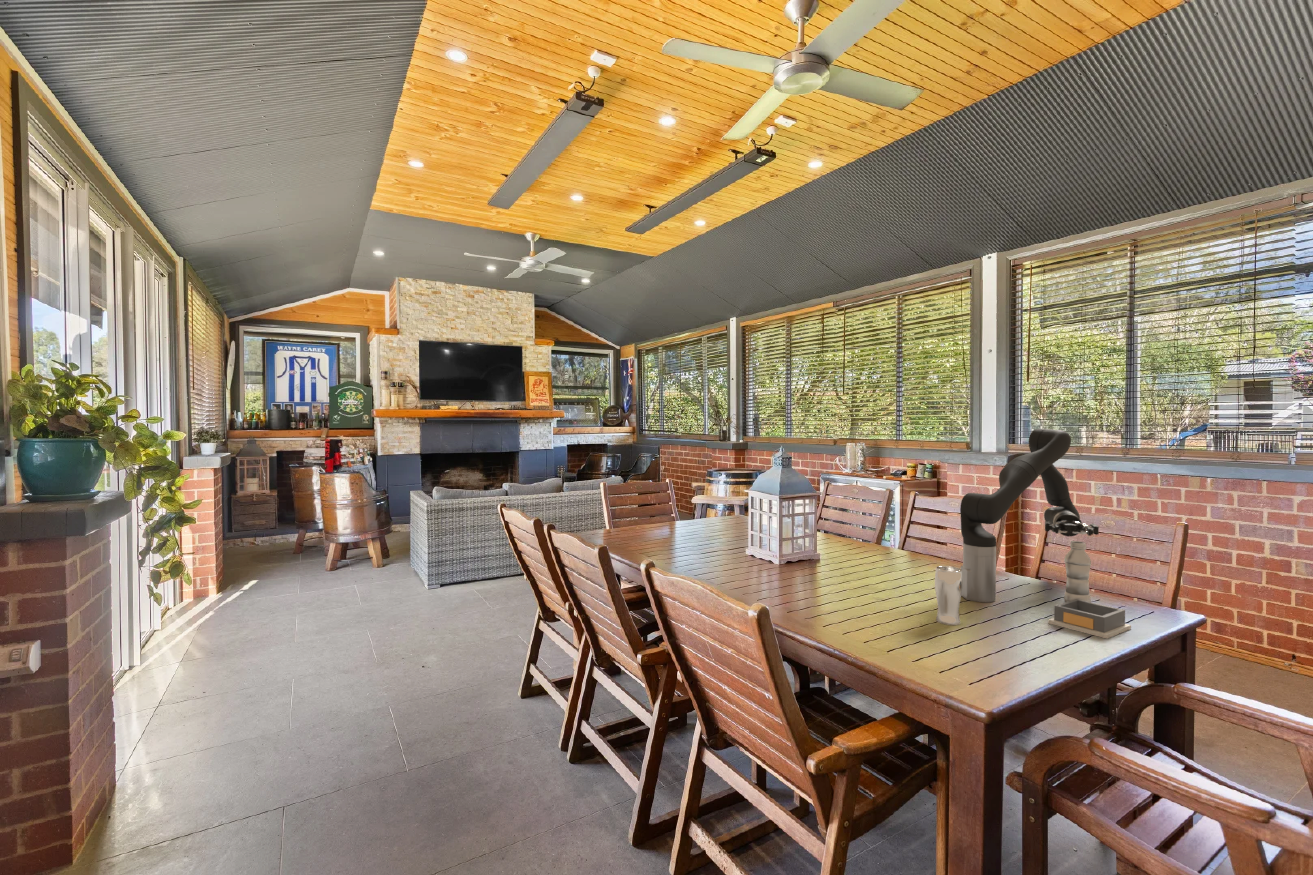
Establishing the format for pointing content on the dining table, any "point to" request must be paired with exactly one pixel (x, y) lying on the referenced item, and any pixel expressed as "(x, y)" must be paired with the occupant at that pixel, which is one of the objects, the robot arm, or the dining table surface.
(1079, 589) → the plastic bottle
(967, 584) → the robot arm
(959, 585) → the beer glass
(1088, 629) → the labelled socket
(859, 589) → the dining table surface
